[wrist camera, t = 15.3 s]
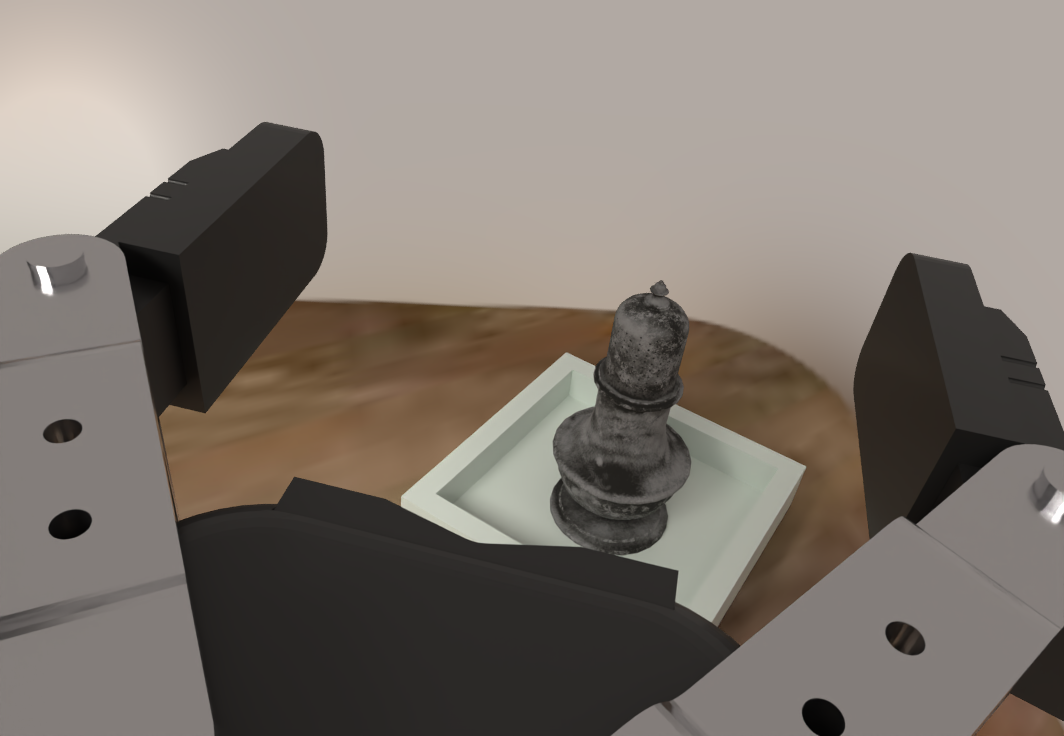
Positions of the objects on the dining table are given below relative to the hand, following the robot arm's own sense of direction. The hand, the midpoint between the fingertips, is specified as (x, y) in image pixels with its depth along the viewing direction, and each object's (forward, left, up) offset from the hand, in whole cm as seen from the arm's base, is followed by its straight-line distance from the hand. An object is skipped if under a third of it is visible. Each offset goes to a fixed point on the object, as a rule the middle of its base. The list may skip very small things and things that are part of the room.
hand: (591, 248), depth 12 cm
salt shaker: (-5, +16, -23) cm, 28 cm away
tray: (-5, +16, -23) cm, 29 cm away
